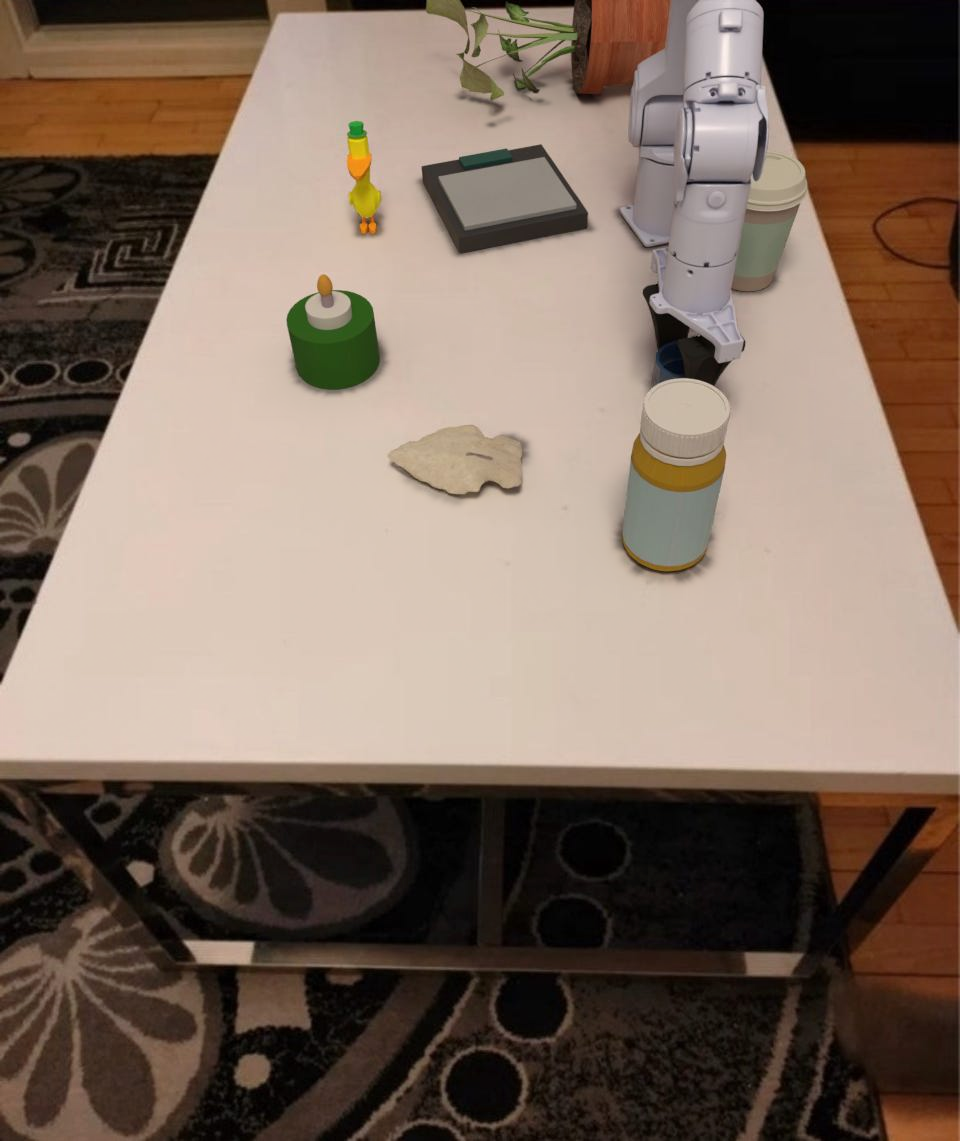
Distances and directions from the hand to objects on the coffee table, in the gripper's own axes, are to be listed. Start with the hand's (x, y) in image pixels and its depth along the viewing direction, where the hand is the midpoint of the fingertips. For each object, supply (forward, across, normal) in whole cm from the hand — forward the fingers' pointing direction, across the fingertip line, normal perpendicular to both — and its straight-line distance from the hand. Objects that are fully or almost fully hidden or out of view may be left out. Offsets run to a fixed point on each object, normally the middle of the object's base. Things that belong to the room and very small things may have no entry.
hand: (682, 376), depth 94 cm
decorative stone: (+2, +3, -23) cm, 23 cm away
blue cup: (+2, 0, 0) cm, 2 cm away
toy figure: (+2, -37, -22) cm, 43 cm away
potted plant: (+2, -61, +8) cm, 62 cm away
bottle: (+2, +17, -9) cm, 19 cm away
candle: (+2, -15, -30) cm, 34 cm away
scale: (+2, -37, -6) cm, 38 cm away
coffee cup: (+2, -15, +14) cm, 21 cm away
